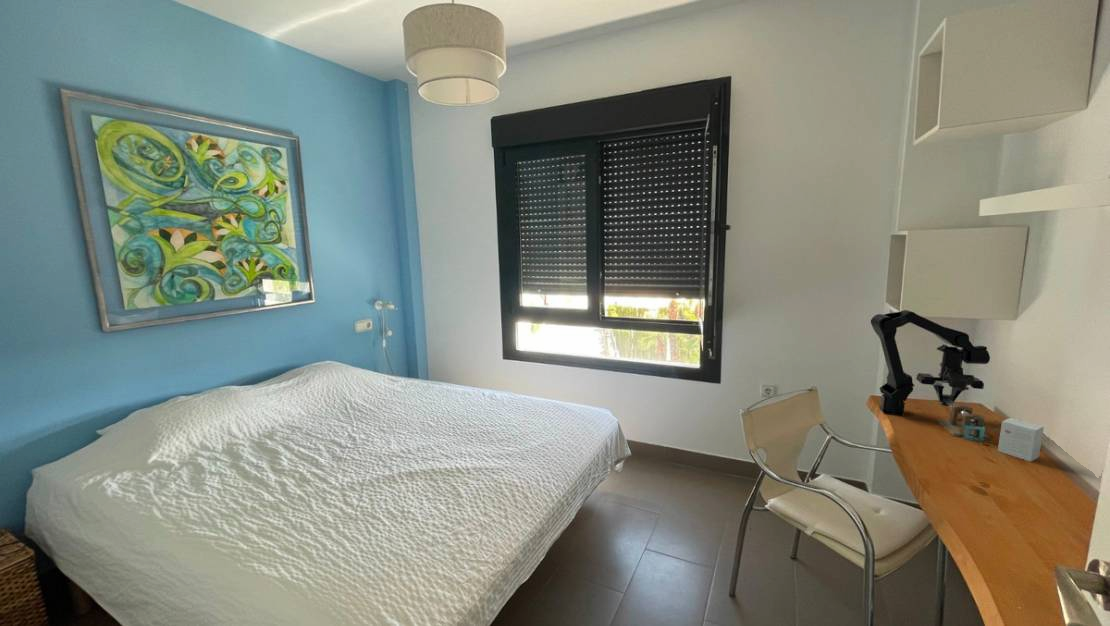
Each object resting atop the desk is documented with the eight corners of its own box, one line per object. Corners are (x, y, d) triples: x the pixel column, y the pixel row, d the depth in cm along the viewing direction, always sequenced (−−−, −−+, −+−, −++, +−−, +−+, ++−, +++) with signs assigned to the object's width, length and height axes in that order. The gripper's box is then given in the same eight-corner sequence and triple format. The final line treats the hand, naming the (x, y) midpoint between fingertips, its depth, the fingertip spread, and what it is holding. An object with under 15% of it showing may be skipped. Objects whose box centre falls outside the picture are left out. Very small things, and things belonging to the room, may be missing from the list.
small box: (1039, 458, 139) (1045, 426, 137) (1030, 462, 137) (1037, 430, 135) (1004, 447, 146) (1010, 417, 144) (996, 451, 144) (1002, 420, 142)
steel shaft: (966, 425, 153) (967, 414, 153) (940, 403, 172) (941, 394, 171) (977, 427, 152) (979, 416, 151) (950, 404, 171) (952, 395, 170)
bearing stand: (953, 436, 154) (956, 414, 153) (937, 421, 166) (940, 400, 165) (990, 440, 151) (994, 418, 149) (971, 424, 163) (974, 403, 161)
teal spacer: (964, 439, 152) (966, 425, 151) (962, 437, 153) (964, 424, 153) (982, 441, 151) (985, 427, 150) (981, 439, 152) (983, 426, 151)
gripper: (930, 366, 164) (924, 406, 167) (995, 371, 158) (988, 413, 161) (918, 358, 175) (913, 396, 177) (979, 362, 168) (972, 402, 171)
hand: (946, 402), depth 171 cm, fingers closed on steel shaft, 3 cm apart
